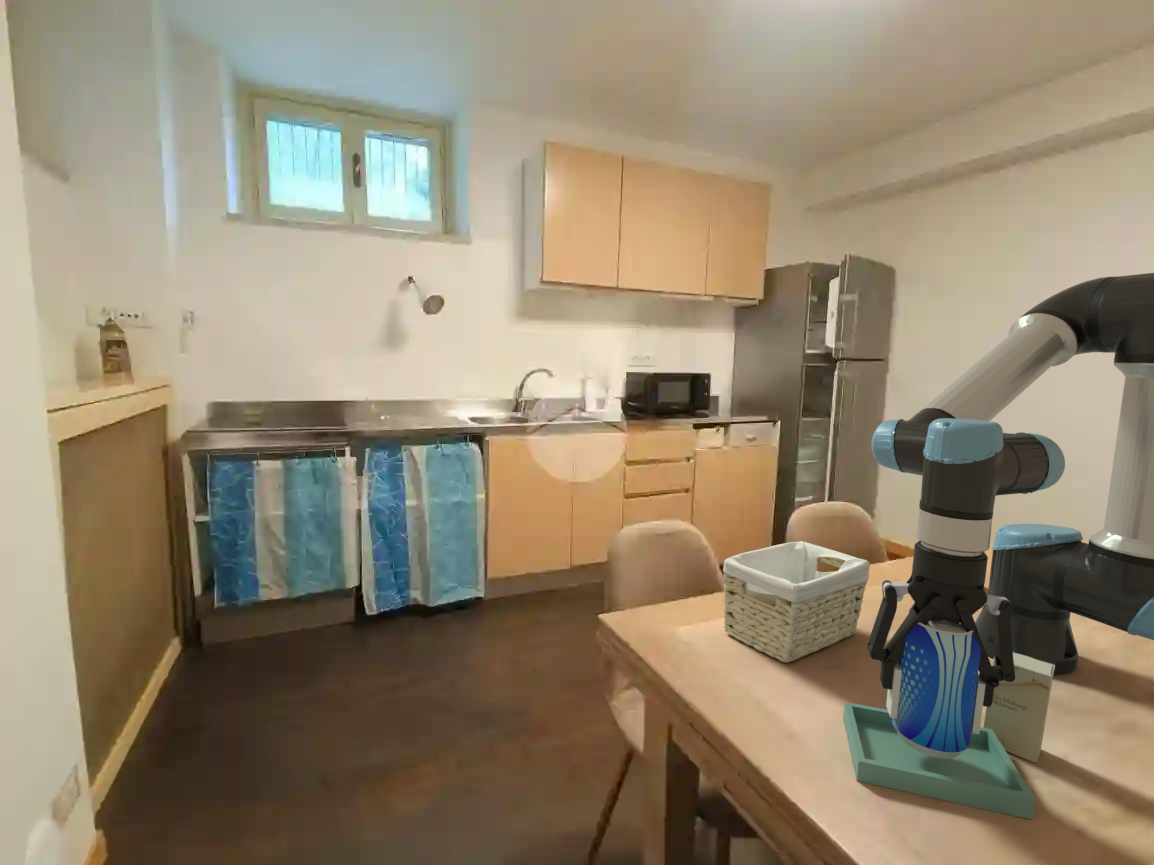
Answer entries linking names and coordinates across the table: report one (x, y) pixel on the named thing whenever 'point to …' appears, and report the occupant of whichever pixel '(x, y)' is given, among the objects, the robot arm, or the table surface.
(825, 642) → the storage basket
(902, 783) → the tray
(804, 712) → the table surface
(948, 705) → the beer can
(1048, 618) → the robot arm
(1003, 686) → the skincare box
